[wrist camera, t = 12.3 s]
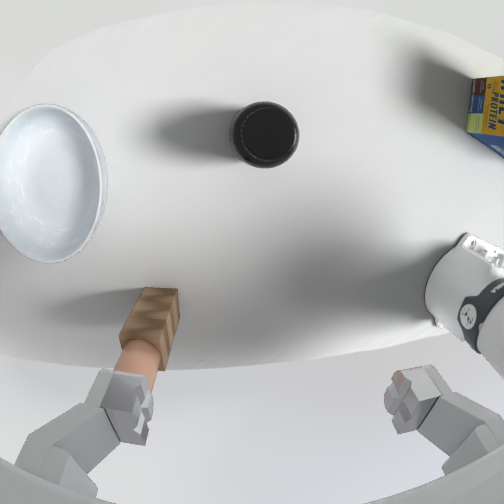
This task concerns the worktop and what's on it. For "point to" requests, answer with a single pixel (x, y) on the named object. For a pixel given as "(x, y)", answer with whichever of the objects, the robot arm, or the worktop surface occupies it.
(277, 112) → the supplement bottle
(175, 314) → the block bottom
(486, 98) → the protein box
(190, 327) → the worktop surface
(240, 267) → the worktop surface
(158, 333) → the block top
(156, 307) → the block middle
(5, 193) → the serving bowl
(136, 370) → the cylinder
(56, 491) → the robot arm
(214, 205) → the worktop surface
